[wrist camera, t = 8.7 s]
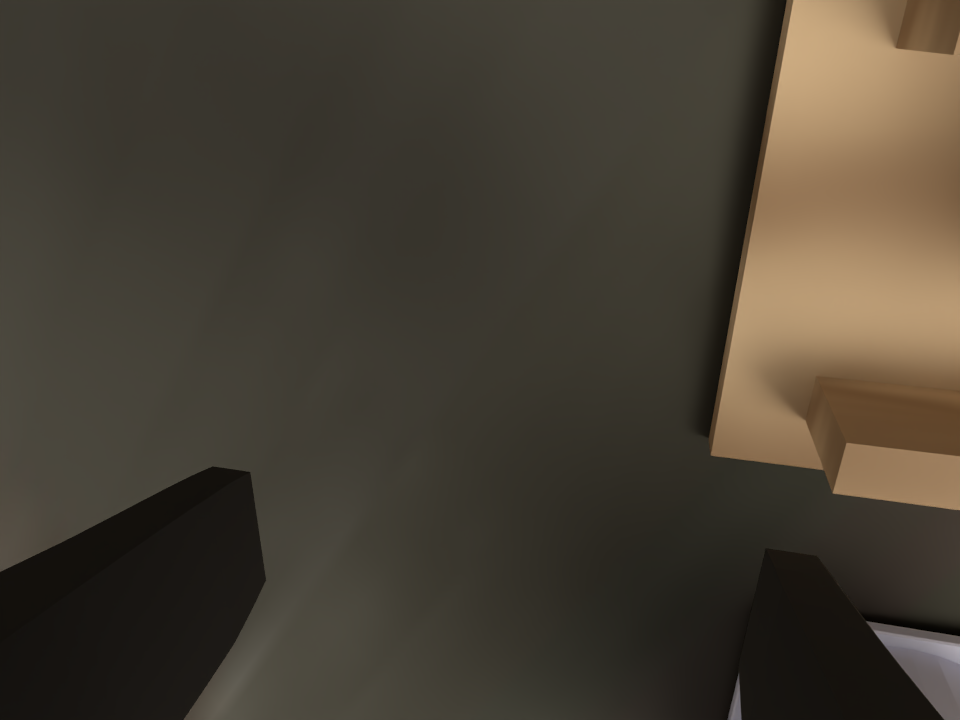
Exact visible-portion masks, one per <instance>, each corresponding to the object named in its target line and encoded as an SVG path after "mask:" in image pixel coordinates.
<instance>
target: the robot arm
mask: <svg viewBox="0 0 960 720" xmlns="http://www.w3.org/2000/svg"><path fill="white" fill-rule="evenodd" d="M265 581H266V577H265V571H264V564H263V557H262V550H261V543H260V536H259V529H258V523H257V516H256V509H255V502H254V495H253V488H252V481H251V475H250V472H246V471H239V470H233V469H226V468H219V467H211V468H208V469H206V470H204V471H201V472H199V473H197V474H195V475H193V476H190V477H188V478H186V479H184V480H182V481H180V482H178V483H176V484H174V485H172V486H170V487H168V488H166V489H164V490H162V491H161V492H159V493H157V494H155V495H153V496H151V497H149V498H147V499H145V500H143V501H141V502H139V503H137V504H136V505H134V506H132V507H130V508H128V509H126V510H124V511H122V512H120V513H118V514H116V515H114V516H112V517H111V518H109V519H107V520H105V521H103V522H101V523H99V524H97V525H95V526H93V527H91V528H89V529H87V530H85V531H84V532H82V533H80V534H78V535H76V536H74V537H72V538H70V539H68V540H66V541H64V542H62V543H60V544H58V545H56V546H54V547H51V548H49V549H47V550H45V551H43V552H41V553H39V554H37V555H35V556H33V557H31V558H29V559H26V560H24V561H22V562H20V563H18V564H16V565H14V566H12V567H10V568H8V569H6V570H3V571H1V572H0V720H183V719H184V718H185V716H186V715H187V714H188V712H189V711H190V709H191V708H192V706H193V705H194V703H195V702H196V700H197V699H198V697H199V696H200V694H201V693H202V691H203V690H204V688H205V687H206V685H207V684H208V682H209V681H210V679H211V678H212V676H213V675H214V673H215V672H216V670H217V669H218V667H219V666H220V664H221V663H222V661H223V660H224V658H225V657H226V655H227V654H228V652H229V651H230V649H231V648H232V646H233V644H234V643H235V641H236V639H237V637H238V635H239V633H240V631H241V630H242V628H243V626H244V624H245V622H246V620H247V618H248V616H249V614H250V612H251V610H252V608H253V606H254V604H255V602H256V600H257V598H258V596H259V593H260V591H261V589H262V587H263V585H264V583H265ZM728 720H960V636H954V635H948V634H942V633H936V632H930V631H924V630H917V629H911V628H905V627H899V626H893V625H887V624H880V623H874V622H868V621H866V620H865V619H864V618H863V617H862V615H861V614H860V613H859V611H858V610H857V609H856V607H855V606H854V605H853V603H852V602H851V600H850V599H849V598H848V596H847V595H846V594H845V592H844V591H843V590H842V588H841V587H840V586H839V584H838V583H837V582H836V580H835V579H834V578H833V576H832V575H831V574H830V572H829V571H828V570H827V568H826V567H825V566H824V565H823V563H822V562H821V561H820V559H819V558H818V557H817V556H813V555H806V554H800V553H793V552H786V551H779V550H773V549H766V550H765V554H764V559H763V563H762V567H761V571H760V576H759V580H758V584H757V588H756V593H755V597H754V601H753V605H752V609H751V614H750V618H749V622H748V626H747V631H746V635H745V639H744V643H743V648H742V652H741V656H740V660H739V674H738V678H737V682H736V686H735V691H734V695H733V699H732V703H731V707H730V712H729V716H728Z"/></svg>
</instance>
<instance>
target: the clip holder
mask: <svg viewBox="0 0 960 720" xmlns="http://www.w3.org/2000/svg"><path fill="white" fill-rule="evenodd" d="M709 446H710V454H711V456H718V457H726V458H734V459H741V460H749V461H757V462H765V463H773V464H781V465H789V466H797V467H805V468H812V469H820V470H824V471H825V474H826V477H827V479H828V482H829V485H830V487H831V490H832V493H834V494H842V495H849V496H857V497H864V498H872V499H879V500H887V501H894V502H902V503H910V504H917V505H925V506H932V507H940V508H947V509H955V510H960V0H787V2H786V8H785V14H784V19H783V25H782V30H781V36H780V42H779V47H778V53H777V59H776V64H775V70H774V75H773V81H772V87H771V92H770V98H769V103H768V109H767V115H766V120H765V126H764V131H763V137H762V143H761V148H760V154H759V160H758V165H757V171H756V176H755V182H754V188H753V193H752V199H751V204H750V210H749V216H748V221H747V227H746V233H745V238H744V244H743V249H742V255H741V261H740V266H739V272H738V277H737V283H736V289H735V294H734V300H733V306H732V311H731V317H730V322H729V328H728V334H727V339H726V345H725V350H724V356H723V362H722V367H721V373H720V378H719V384H718V390H717V395H716V401H715V407H714V412H713V418H712V423H711V429H710V435H709Z"/></svg>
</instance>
